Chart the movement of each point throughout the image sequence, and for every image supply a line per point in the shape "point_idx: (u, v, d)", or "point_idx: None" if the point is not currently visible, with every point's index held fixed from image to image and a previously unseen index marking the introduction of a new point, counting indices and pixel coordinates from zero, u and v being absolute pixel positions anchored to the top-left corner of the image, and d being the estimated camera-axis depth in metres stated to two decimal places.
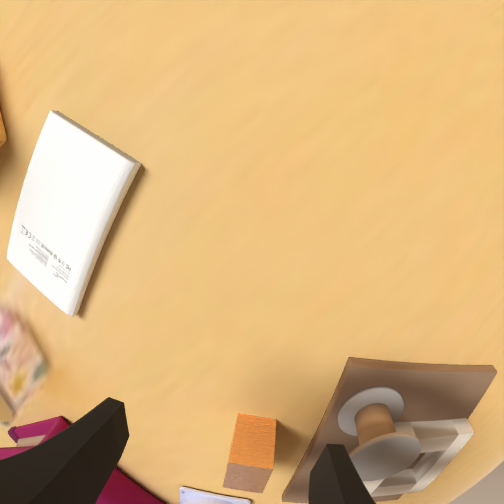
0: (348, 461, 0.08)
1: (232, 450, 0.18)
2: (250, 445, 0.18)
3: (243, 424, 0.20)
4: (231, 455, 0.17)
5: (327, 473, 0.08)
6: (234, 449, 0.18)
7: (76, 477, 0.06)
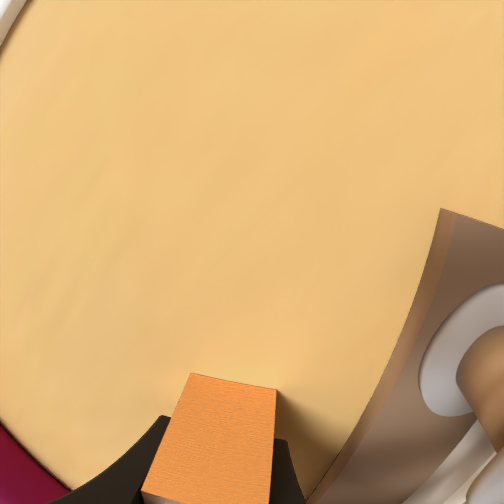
0: (285, 457, 0.08)
1: (158, 459, 0.06)
2: (210, 450, 0.07)
3: (198, 398, 0.09)
4: (153, 472, 0.06)
5: None
6: (164, 457, 0.06)
7: None
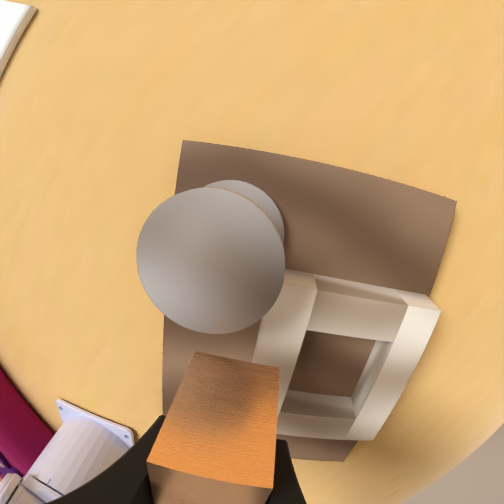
0: (286, 457, 0.08)
1: (164, 431, 0.07)
2: (215, 422, 0.07)
3: (204, 374, 0.09)
4: (158, 443, 0.06)
5: None
6: (170, 429, 0.07)
7: None
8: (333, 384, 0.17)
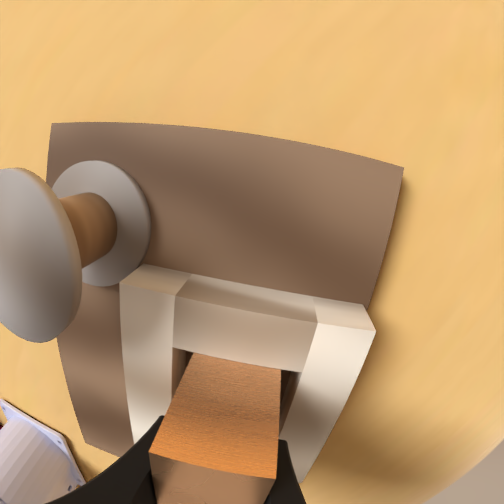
0: (285, 457, 0.08)
1: (166, 422, 0.07)
2: (217, 413, 0.07)
3: (206, 366, 0.09)
4: (161, 434, 0.06)
5: None
6: (172, 420, 0.07)
7: None
8: None
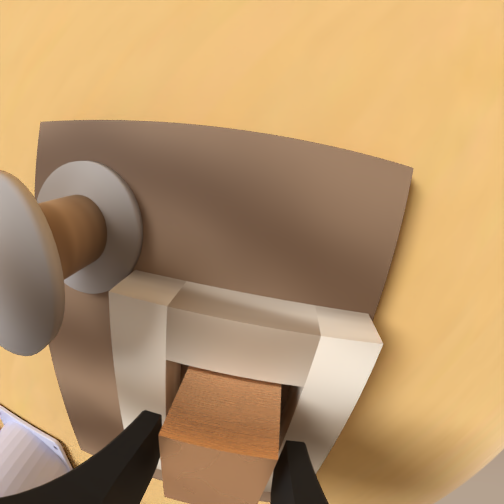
0: (306, 459, 0.08)
1: (175, 407, 0.07)
2: (222, 399, 0.08)
3: None
4: (170, 418, 0.07)
5: (284, 470, 0.08)
6: (180, 405, 0.08)
7: (119, 496, 0.06)
8: None
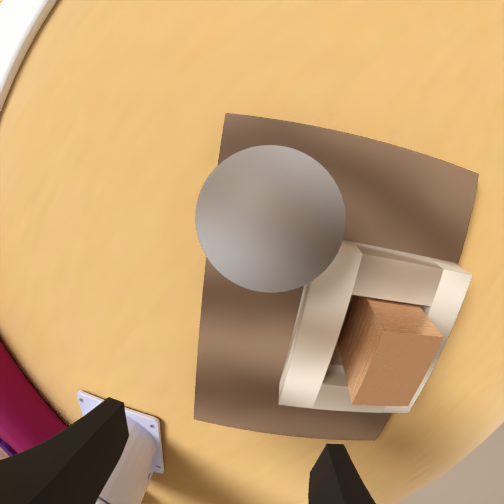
0: (348, 461, 0.08)
1: (378, 317, 0.12)
2: (398, 312, 0.12)
3: None
4: (381, 323, 0.11)
5: (327, 473, 0.08)
6: (380, 316, 0.12)
7: (76, 477, 0.06)
8: None
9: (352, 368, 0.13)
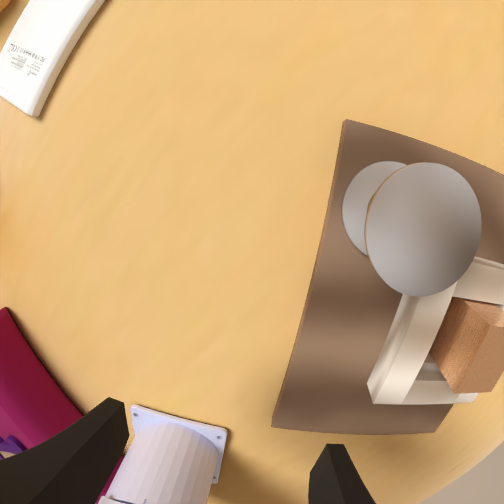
0: (348, 461, 0.08)
1: (480, 315, 0.12)
2: (488, 310, 0.12)
3: None
4: (485, 319, 0.11)
5: (327, 473, 0.08)
6: (480, 314, 0.12)
7: (76, 477, 0.06)
8: None
9: (450, 362, 0.13)
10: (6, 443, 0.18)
